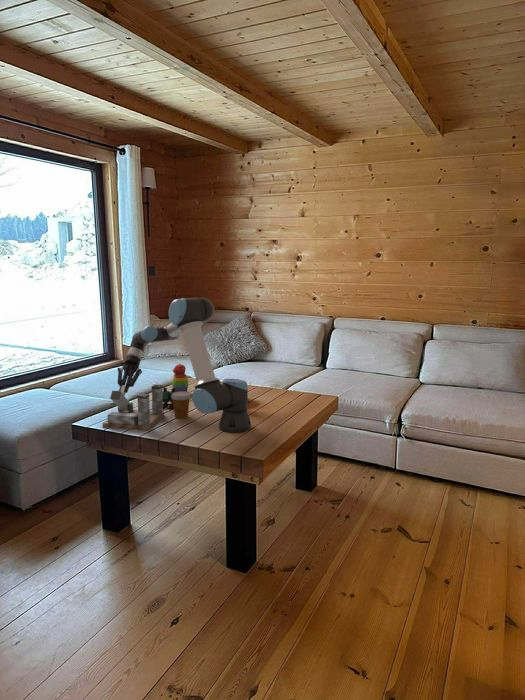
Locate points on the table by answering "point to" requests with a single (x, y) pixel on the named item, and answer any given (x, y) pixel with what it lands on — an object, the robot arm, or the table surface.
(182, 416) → the disposable coffee cup
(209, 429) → the table surface
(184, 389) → the stacking bear
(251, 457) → the table surface
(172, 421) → the table surface
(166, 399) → the binoculars
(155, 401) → the grey block structure
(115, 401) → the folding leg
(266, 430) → the table surface
